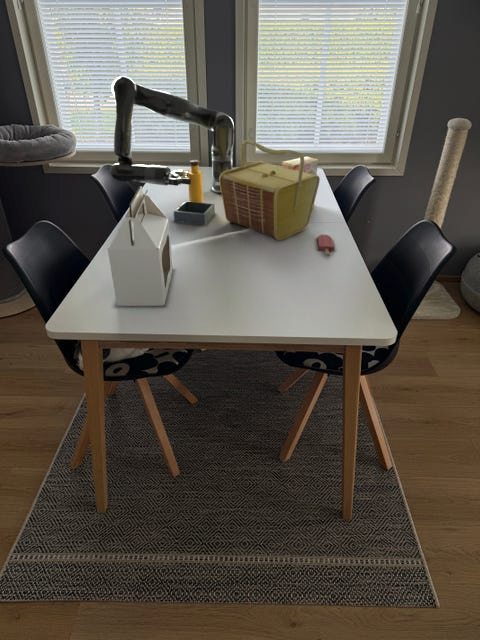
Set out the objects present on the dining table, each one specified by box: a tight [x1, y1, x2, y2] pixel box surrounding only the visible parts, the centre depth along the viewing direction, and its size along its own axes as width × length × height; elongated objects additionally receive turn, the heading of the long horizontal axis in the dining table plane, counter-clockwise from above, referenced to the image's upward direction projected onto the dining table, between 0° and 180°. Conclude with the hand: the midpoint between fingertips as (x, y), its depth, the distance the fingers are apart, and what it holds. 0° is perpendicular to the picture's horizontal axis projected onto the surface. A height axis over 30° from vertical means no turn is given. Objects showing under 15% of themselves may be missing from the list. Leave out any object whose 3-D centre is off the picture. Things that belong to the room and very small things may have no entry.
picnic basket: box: [219, 140, 321, 241], centre depth 167 cm, size 29×26×30 cm
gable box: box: [107, 185, 173, 307], centre depth 127 cm, size 22×13×28 cm, turn 1°
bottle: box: [188, 159, 204, 203], centre depth 186 cm, size 6×6×20 cm
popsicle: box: [316, 234, 335, 255], centre depth 160 cm, size 5×2×15 cm
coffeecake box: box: [281, 156, 319, 175], centre depth 188 cm, size 15×7×20 cm, turn 131°
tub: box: [173, 200, 216, 225], centre depth 180 cm, size 13×13×5 cm
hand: (194, 178), depth 184 cm, fingers open, 8 cm apart
